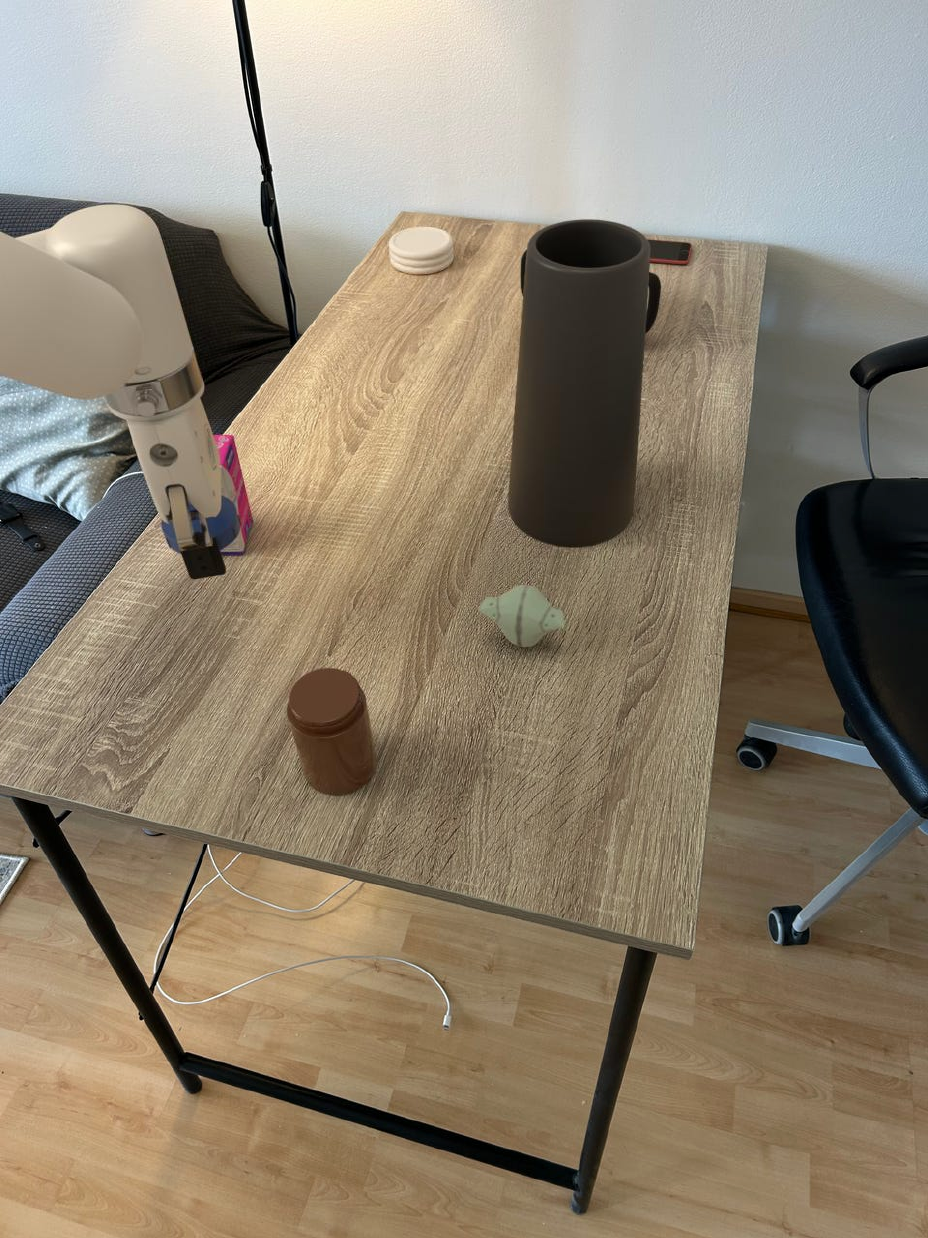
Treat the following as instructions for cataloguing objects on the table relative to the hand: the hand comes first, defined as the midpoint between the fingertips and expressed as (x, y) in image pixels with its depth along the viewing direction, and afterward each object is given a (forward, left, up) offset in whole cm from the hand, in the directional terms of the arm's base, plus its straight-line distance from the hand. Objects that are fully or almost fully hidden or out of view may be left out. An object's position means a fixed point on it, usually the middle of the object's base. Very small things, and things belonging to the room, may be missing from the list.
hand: (208, 546), depth 83 cm
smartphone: (+92, -1, -8) cm, 92 cm away
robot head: (+12, -27, -9) cm, 31 cm away
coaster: (+72, +28, -9) cm, 78 cm away
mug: (+65, -5, -9) cm, 65 cm away
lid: (0, 0, +3) cm, 3 cm away
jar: (-8, -21, -8) cm, 24 cm away
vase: (+32, -21, -9) cm, 39 cm away
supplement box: (+8, +8, -9) cm, 14 cm away
